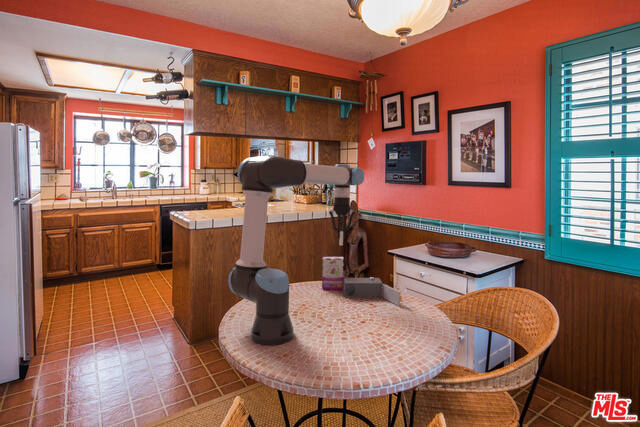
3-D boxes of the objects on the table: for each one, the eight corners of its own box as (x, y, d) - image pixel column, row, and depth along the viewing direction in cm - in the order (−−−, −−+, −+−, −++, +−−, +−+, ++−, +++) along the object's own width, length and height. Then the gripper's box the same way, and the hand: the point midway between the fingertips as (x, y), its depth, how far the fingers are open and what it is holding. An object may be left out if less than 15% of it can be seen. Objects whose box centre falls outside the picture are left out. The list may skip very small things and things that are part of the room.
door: (401, 305, 161) (402, 291, 160) (397, 306, 160) (398, 291, 159) (385, 296, 172) (385, 283, 172) (381, 297, 172) (382, 284, 171)
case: (345, 298, 170) (345, 282, 169) (343, 291, 181) (343, 276, 180) (382, 298, 171) (383, 282, 170) (378, 291, 181) (379, 276, 180)
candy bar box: (343, 287, 187) (344, 256, 186) (343, 290, 182) (344, 258, 181) (322, 286, 188) (322, 256, 186) (321, 289, 183) (322, 258, 181)
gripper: (328, 196, 168) (328, 246, 171) (356, 197, 169) (355, 246, 171) (328, 196, 176) (327, 243, 178) (354, 196, 176) (353, 243, 178)
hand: (341, 244), depth 175 cm, fingers closed
